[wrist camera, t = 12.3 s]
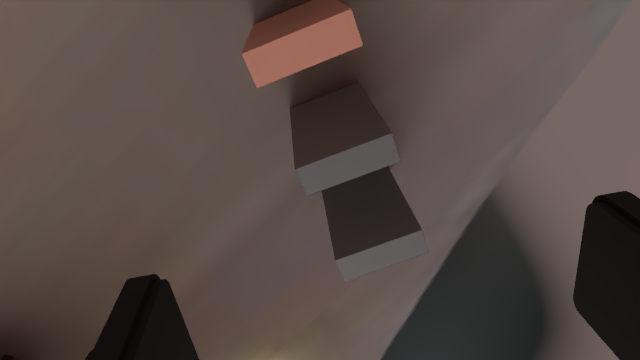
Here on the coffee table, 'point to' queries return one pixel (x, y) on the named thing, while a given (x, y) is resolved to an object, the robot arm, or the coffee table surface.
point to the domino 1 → (299, 39)
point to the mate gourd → (7, 357)
